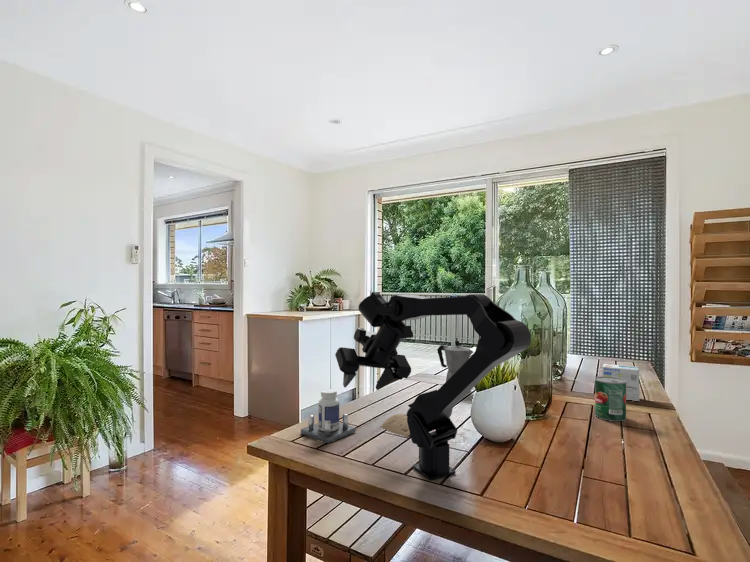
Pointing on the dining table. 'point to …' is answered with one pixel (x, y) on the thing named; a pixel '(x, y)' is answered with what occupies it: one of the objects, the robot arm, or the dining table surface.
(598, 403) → the canned tomato
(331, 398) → the pill bottle
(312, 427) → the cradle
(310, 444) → the dining table surface
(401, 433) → the clay tablet
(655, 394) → the dining table surface
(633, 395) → the light bulb box
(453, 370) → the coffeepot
